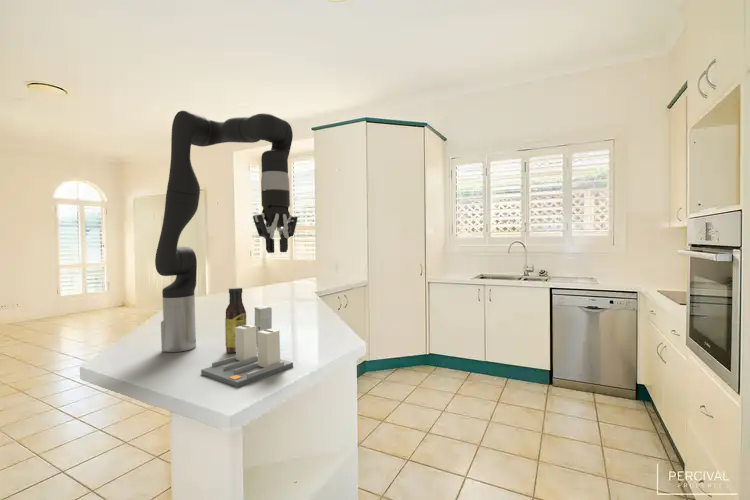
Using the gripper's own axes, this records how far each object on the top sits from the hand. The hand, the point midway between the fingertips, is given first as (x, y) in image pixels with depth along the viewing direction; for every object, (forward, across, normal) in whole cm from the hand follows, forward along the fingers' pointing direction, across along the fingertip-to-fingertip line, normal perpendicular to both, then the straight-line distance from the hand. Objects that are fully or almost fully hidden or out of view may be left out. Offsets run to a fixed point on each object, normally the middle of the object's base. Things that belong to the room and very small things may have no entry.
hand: (277, 252), depth 102 cm
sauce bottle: (+31, -1, -23) cm, 39 cm away
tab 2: (+30, +5, +2) cm, 30 cm away
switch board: (+31, +8, -4) cm, 32 cm away
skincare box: (+31, -13, -24) cm, 42 cm away
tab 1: (+30, +5, -8) cm, 31 cm away
